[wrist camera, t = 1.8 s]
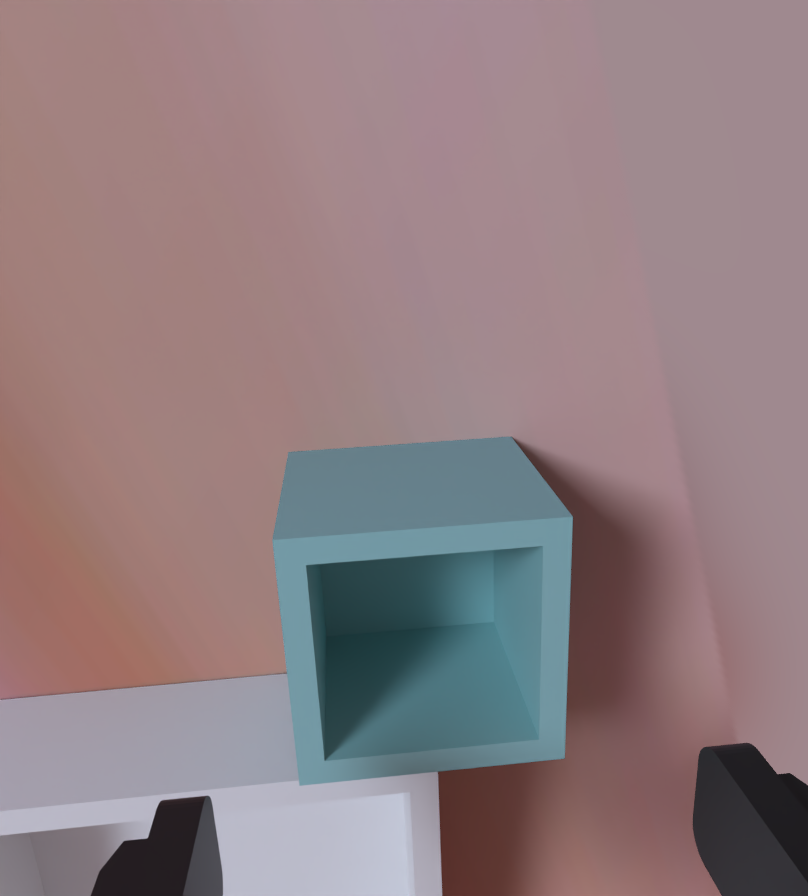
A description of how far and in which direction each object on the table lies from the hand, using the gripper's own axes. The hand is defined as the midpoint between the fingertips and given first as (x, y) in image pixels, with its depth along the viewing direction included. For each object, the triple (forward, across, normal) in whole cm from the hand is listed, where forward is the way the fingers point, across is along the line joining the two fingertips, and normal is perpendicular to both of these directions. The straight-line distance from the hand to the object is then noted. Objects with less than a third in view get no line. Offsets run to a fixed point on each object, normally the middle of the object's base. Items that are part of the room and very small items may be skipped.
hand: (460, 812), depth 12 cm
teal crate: (+9, 0, 0) cm, 9 cm away
